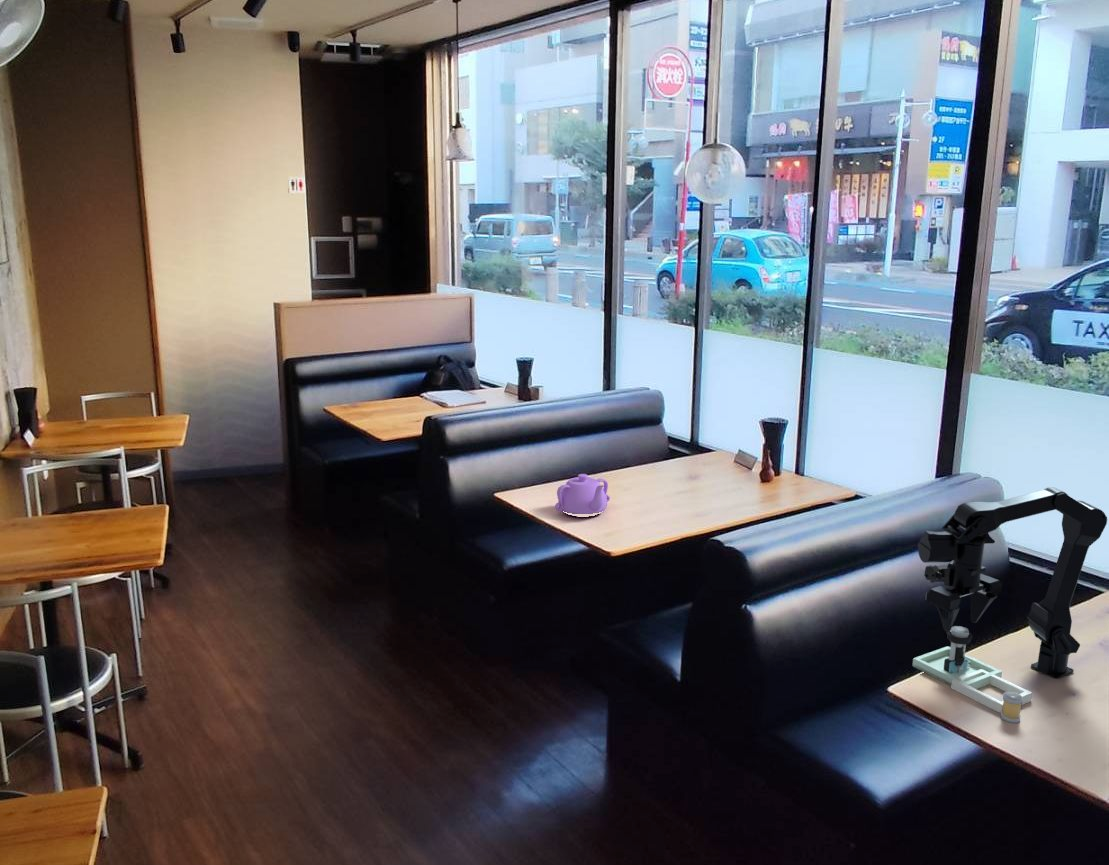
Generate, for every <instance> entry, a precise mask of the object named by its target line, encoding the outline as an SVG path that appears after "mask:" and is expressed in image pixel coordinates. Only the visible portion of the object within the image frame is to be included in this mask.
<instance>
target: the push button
mask: <svg viewBox="0 0 1109 865" xmlns="http://www.w3.org/2000/svg"><path fill="white" fill-rule="evenodd" d="M946 635H947V636H946V637H947V638H946V639H947V640H948V641H950V656H949V658H947V659H945V661H944V670H946V671H947V672H949V673H951V674H952V673H956V672H959V673H962V672H963V671H965V670H966V669H967V666H970V665H969V664H967V663H969V662H971V661H969V660H967V659H965V654H966V646H967V645H968V644H970V643H971V642H972V639H973V633H971V632H970V631H969V629H968V628H967V627H963V626H960V625H959V626H958V625H954V626H953V625H952V628H951V629H950V631H949V632H946ZM968 661H969V662H968Z"/></svg>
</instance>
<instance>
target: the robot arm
mask: <svg viewBox="0 0 1109 865" xmlns="http://www.w3.org/2000/svg"><path fill="white" fill-rule="evenodd" d="M1055 510H1056V511H1058V512H1059V513H1061V514H1062V518H1061V519H1062V520H1061V528H1062V534H1063V542H1062V546H1061V548H1060V552H1059V554H1058V557H1057V562H1056V564H1055V567H1054V570H1053V573H1052V576H1051V580H1050V582H1049V585H1048V589H1047V590H1046V591H1047V592H1046V594H1045V598H1044V599H1043V600H1041V601H1040V602H1038V603H1037V602H1032V603H1031V607H1030V612H1029V613H1028V615H1027V616H1026V618H1027V619H1028V626H1029V628H1030V629H1031V630H1032V632H1033V634H1034V637H1035V638H1037V639H1039V641H1040V645H1039V652H1038V657H1037V662H1034V663H1031V664H1030V668H1033V669H1035V670H1036V671H1039V672H1041V673H1044V674H1045V675H1048V676H1050V677H1052V678H1055V679H1060V678H1062V677H1064V676H1067V675H1070V674H1072V673H1074V671H1075V670H1074V669H1073V668H1072V667H1069V666H1068V664H1069V657H1070V655H1071V654H1076V653H1078V650H1079V648H1080V646H1081V644H1080V642H1078V641H1077V640H1076V639H1075V637H1074V636H1073V635H1072V634H1071V629H1072V623H1073V620H1072V616H1071V610H1070V609H1071V608H1070V606H1071V602H1072V599H1073V597H1074V594H1075V590H1076V587H1077V584H1078V581H1079V577H1080V575H1081V572H1082V568H1083V566H1084V563H1085V560H1086V557H1087V554H1088V551H1089V548H1090V546H1091V545H1093V544H1094V543H1095V542H1096V541H1098V540H1099V539H1100V538H1101V536H1102V534H1103V533H1104V532H1103V531H1104V530H1105V528H1106V526H1107V524H1108V517H1107V515H1106V513H1105V512H1104V511H1103V510H1102V509H1101V508H1098V507H1096V506H1095V505H1093V504H1090V503H1087V502H1086V501H1084V500H1076V499H1074V498H1073V497H1071V496H1070V495H1069V494H1068V493H1066V492H1065V491H1063V490H1061V489H1058V488H1057V487H1054V486H1053V487H1052V486H1051V487H1046V488H1044V489H1043V490H1038V491H1035V492H1031V493H1026V494H1022V495H1018V496H1015V497H1011V498H1007V499H1003V500H999V501H993V502H992V501H991V502H990V501H972V502H964V503H961V504H959V505H958V506H957V508H956V509H955V512H954V514H953V515H951V517H950V518H949V519H948V520H947V521H946V523H945V524H944V525H943V526H942V528H941V530H942V531H932V530H925V531H924V533H923V534H924V535H923V536H922V537H921V538H920V539H919V541H918V543H917V551H918V552H917V553H918V556H919V558H920V561H921V562H922V563H948V564H947V565H945V564H944V565H943V564H942V565H937V564H935V565H931V564H930V565H926V566H925V569H924V576H923V577H924V578H925V580H926V581H929V582H930V583H931V584H932V583H933V584H934V583H943V585H945V586H947V587H951V589H948V588H946V587H943V585H939V586H936V587H932V588H929V589H927V590H926V591H925V592H926V593H925V601H927V602H929V603H930V604H931V605H933V606H935V607H936V609H937V611H938V613H939V617H940V620H941V624H942V627H943V630H944V631H945V632H946V633H947V632H949V631H950V629H951V628H952V627H953V625H954V622H955V621H956V619H957V616H958V613H959V611H960V609H961V607H960V606H959V605H961V598H962V597H966V596H970V622H972V623H973V624H976V623H978V621H979V620H980V618H981V617H982V615H983V614H984V613H985V612H986V610H987V609H988V607H989V606H990V605H991V603H993V601H994V600H995V599H997V598H998V595H1000V594H1002V592H1003V585H1002V583H1001V581H1000V580H999V579H996V578H994V577H991V576H989V575H986V574H983V573H986V571H987V570H986V569H987V567H985V566H983V558H984V549H985V544H995V542H996V541H995V539H993V537H991V536H990V534H989V533H992V532H994V531H996V530H997V529H999V527H1001V525H1003V524H1005V523H1008V522H1012V521H1016V520H1019V519H1024V518H1029V517H1031V516H1035V515H1039V514H1043V513H1047V512H1052V511H1055ZM959 527H960V528H961V529H963V530H964V531H962V530H960V529H959Z"/></svg>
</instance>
